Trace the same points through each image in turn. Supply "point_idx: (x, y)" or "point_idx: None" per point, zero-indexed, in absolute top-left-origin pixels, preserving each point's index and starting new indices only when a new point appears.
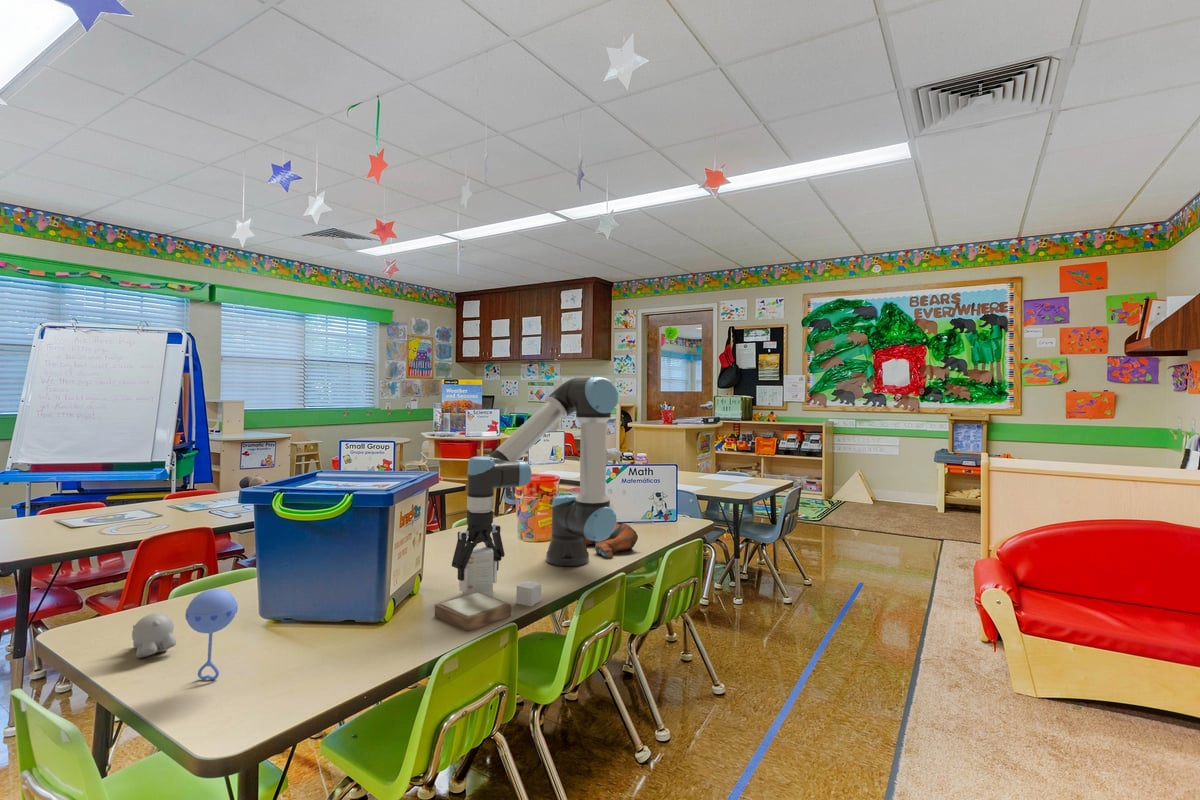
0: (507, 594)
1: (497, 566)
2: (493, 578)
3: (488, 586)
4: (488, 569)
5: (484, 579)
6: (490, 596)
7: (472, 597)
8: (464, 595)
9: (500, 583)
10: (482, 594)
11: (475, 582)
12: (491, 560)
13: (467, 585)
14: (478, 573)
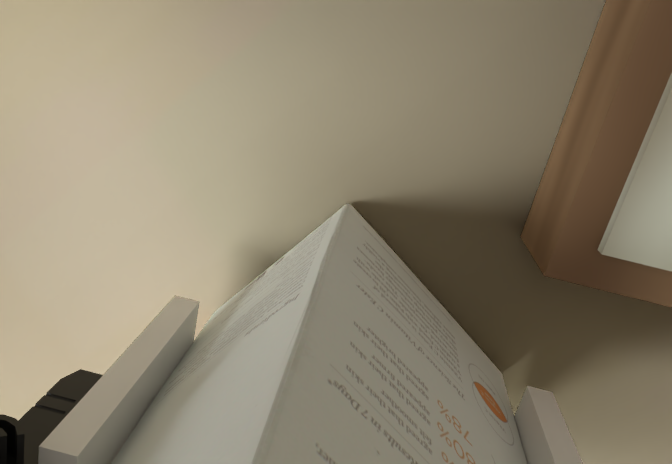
0: (216, 126)
1: (59, 403)
2: (178, 343)
3: (368, 267)
4: (358, 377)
5: (396, 339)
6: (636, 53)
7: None
8: (505, 391)
9: (54, 334)
10: (647, 160)
11: (464, 393)
12: (302, 447)
13: (511, 433)
14: (452, 442)
